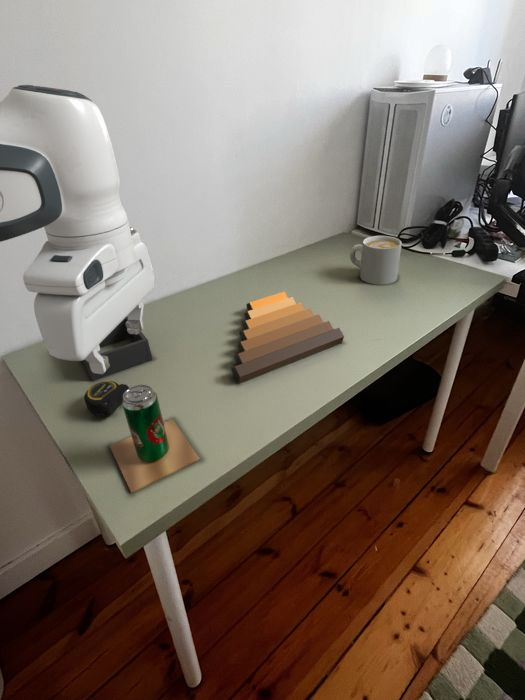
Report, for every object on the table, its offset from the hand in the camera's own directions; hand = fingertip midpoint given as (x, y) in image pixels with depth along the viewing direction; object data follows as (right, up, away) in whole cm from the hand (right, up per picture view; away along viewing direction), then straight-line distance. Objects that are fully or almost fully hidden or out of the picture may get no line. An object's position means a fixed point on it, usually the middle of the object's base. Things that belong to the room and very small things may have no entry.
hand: (119, 349), depth 57 cm
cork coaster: (+2, -17, +12) cm, 20 cm away
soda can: (+2, -16, +12) cm, 20 cm away
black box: (-13, -1, +36) cm, 38 cm away
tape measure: (-9, -11, +22) cm, 26 cm away
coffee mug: (+50, +21, +64) cm, 83 cm away
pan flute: (+19, +3, +39) cm, 44 cm away
